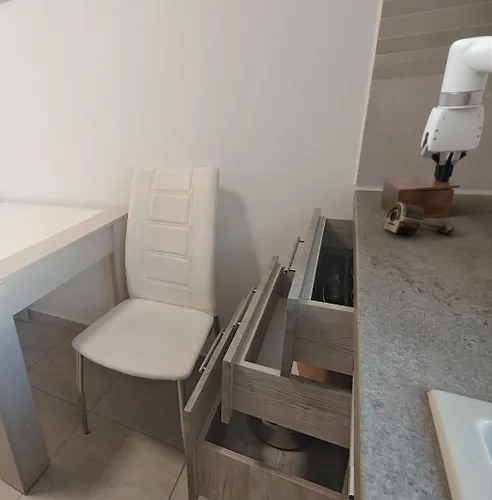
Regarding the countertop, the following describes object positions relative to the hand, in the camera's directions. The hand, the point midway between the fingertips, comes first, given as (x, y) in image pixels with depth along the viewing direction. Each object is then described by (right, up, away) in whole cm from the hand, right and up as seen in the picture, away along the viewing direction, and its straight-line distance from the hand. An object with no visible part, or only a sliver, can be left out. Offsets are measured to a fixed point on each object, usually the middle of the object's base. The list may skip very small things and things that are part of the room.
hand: (441, 180), depth 90 cm
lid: (-4, -1, +2) cm, 5 cm away
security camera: (-12, -14, -8) cm, 20 cm away
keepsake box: (-4, -7, +4) cm, 9 cm away
